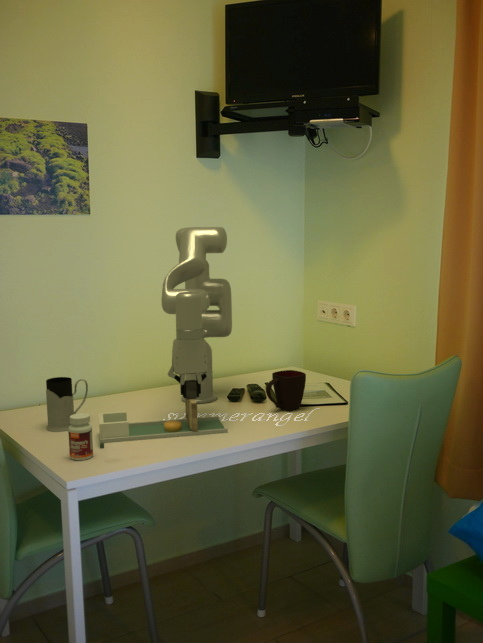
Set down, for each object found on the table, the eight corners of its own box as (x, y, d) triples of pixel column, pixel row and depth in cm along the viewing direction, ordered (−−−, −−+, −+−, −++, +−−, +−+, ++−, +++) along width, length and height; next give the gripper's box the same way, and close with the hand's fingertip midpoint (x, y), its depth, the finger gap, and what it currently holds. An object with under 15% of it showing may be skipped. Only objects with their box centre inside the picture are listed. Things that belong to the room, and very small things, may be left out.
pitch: (99, 433, 196) (98, 412, 196) (218, 423, 204) (218, 403, 203) (100, 448, 183) (99, 425, 182) (227, 437, 191) (227, 415, 190)
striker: (183, 420, 202) (182, 376, 200) (193, 419, 202) (191, 375, 200) (190, 434, 188) (188, 387, 186) (200, 433, 189) (199, 386, 187)
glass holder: (41, 427, 203) (38, 380, 200) (81, 417, 213) (79, 372, 211) (56, 433, 197) (53, 384, 194) (96, 423, 207) (94, 376, 205)
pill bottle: (69, 461, 173) (66, 419, 171) (70, 453, 179) (68, 413, 177) (93, 459, 174) (91, 418, 173) (93, 452, 180) (91, 411, 179)
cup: (310, 409, 219) (310, 374, 217) (277, 416, 211) (276, 380, 209) (291, 403, 227) (291, 369, 225) (258, 410, 219) (258, 374, 217)
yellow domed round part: (162, 428, 196) (162, 421, 195) (178, 426, 197) (178, 419, 197) (166, 432, 191) (166, 425, 191) (183, 430, 193) (183, 424, 192)
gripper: (214, 331, 197) (215, 391, 199) (159, 334, 193) (161, 395, 196) (219, 335, 190) (220, 397, 192) (162, 338, 186) (164, 402, 189)
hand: (190, 396), depth 194 cm, fingers closed on striker, 3 cm apart
